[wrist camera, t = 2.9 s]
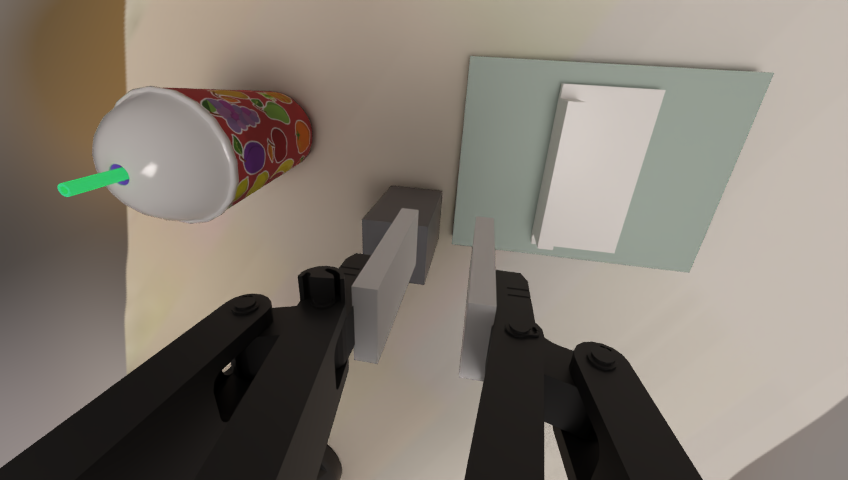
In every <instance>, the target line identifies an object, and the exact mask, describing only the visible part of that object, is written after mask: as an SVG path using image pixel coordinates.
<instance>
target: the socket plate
mask: <svg viewBox="0 0 848 480" xmlns="http://www.w3.org/2000/svg"><path fill="white" fill-rule="evenodd" d="M773 74H774V73H768V72H750V71H732V70H714V69H696V68H678V67H660V66H642V65H624V64H606V63H588V62H570V61H552V60H534V59H516V58H498V57H480V56H470V64H469V74H468V85H467V95H466V105H465V115H464V125H463V136H462V146H461V156H460V166H459V177H458V187H457V197H456V207H455V218H454V228H453V238H452V244H455V245H463V246H471V247H472V246H473V238H474V230H475V222H476V216H478V217H487V218H494V238H495V249H496V250H505V251H513V252H521V253H530V254H538V255H546V256H554V257H563V258H571V259H579V260H588V261H596V262H604V263H613V264H621V265H629V266H638V267H646V268H654V269H663V270H671V271H679V272H688V273H689V272H690V270H691V267H692V265H693V263H694V260H695V258H696V256H697V253H698V251H699V249H700V246H701V244H702V242H703V239H704V237H705V234H706V232H707V230H708V227H709V225H710V223H711V220H712V218H713V216H714V213H715V211H716V209H717V206H718V204H719V202H720V199H721V197H722V194H723V192H724V190H725V187H726V185H727V183H728V180H729V178H730V176H731V173H732V171H733V169H734V166H735V164H736V162H737V159H738V157H739V154H740V152H741V150H742V147H743V145H744V143H745V140H746V138H747V136H748V133H749V131H750V129H751V126H752V124H753V122H754V119H755V117H756V114H757V112H758V110H759V107H760V105H761V103H762V100H763V98H764V96H765V93H766V91H767V89H768V86H769V84H770V82H771V79H772V77H773ZM561 83H563V84H579V85H595V86H611V87H627V88H643V89H659V90H666V91H665V94H664V97H663V100H662V104H661V107H660V110H659V113H658V116H657V120H656V123H655V126H654V129H653V132H652V135H651V139H650V142H649V145H648V148H647V151H646V154H645V158H644V161H643V164H642V167H641V170H640V174H639V177H638V180H637V183H636V186H635V189H634V193H633V196H632V199H631V202H630V205H629V208H628V212H627V215H626V218H625V221H624V224H623V228H622V231H621V234H620V237H619V240H618V243H617V247H616V250H615V253H607V252H598V251H589V250H581V249H572V248H564V247H555V246H554V247H553V250H547V249H539V248H537V246H536V244H531V241H530V238H531V233H532V228H533V223H534V218H535V213H536V208H537V203H538V198H539V193H540V188H541V183H542V178H543V173H544V168H545V163H546V158H547V153H548V148H549V143H550V138H551V133H552V128H553V123H554V118H555V113H556V108H557V103H558V98H559V93H560V88H561Z"/></svg>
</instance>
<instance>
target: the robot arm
mask: <svg viewBox="0 0 848 480" xmlns="http://www.w3.org/2000/svg"><path fill="white" fill-rule="evenodd" d="M418 213H419V210H415V209H405V208H402V209H401V210H400V212H399V213H398V215H397V216H396V218H395V220H394V221H393V223H392V224H391V226H390V227H389V229H388V230H387V232H386V234H385V235H384V237H383V238H382V240H381V241H380V243H379V244H378V246H377V247H376V249H375V251H374V252H373V254H372V255H366V254H358V253H356V254H354V255H352V256H350V257H348V258H347V259H345V261H344V262H343V263H342V265H341V266H340V267H339V269H338V268H335V267H330V266H318V267H314V268H309V269H307V270H305V271H303V272H302V273H301V274H299V275H298V283H299V292H300V302H299V304H298V305H297V306H292V307H278V308H272V305H271V301H270V299H269V298H268V297H266V296H264V295H261V294H246V295H242V296H238V297H235V298H233V299H231V300H229V301H228V302H226V303H225V304H223V305H222V306H220V307H219V308H218V309H216V310H215V311H214V312H212V313H211V314H210V315H208V316H207V317H206V318H204V319H203V320H201V321H200V322H199V323H197V324H196V325H195V326H193V327H192V328H191V329H189V330H188V331H186V332H185V333H184V334H182V335H181V336H180V337H178V338H177V339H176V340H174V341H173V342H171V343H170V344H169V345H167V346H166V347H165V348H163V349H162V350H161V351H159V352H158V353H156V354H155V355H154V356H152V357H151V358H150V359H148V360H147V361H146V362H144V363H143V364H142V365H140V366H139V367H137V368H136V369H135V370H133V371H132V372H131V373H129V374H128V375H127V376H125V377H124V378H122V379H121V380H120V381H118V382H117V383H116V384H114V385H113V386H112V387H110V388H109V389H108V390H106V391H105V392H103V393H102V394H101V395H99V396H98V397H97V398H95V399H94V400H93V401H91V402H90V403H88V404H87V405H86V406H84V407H83V408H82V409H80V410H79V411H78V412H76V413H75V414H73V415H72V416H71V417H69V418H68V419H67V420H65V421H64V422H63V423H61V424H60V425H58V426H57V427H56V428H54V429H53V430H52V431H50V432H49V433H48V434H47V435H45V436H44V437H42V438H41V439H39V440H38V441H37V442H35V443H34V444H33V445H31V446H30V447H29V448H27V449H26V450H24V451H23V452H22V453H20V454H19V455H18V456H16V457H15V458H14V459H12V460H11V461H9V462H8V463H7V464H6V465H4V466H3V467H1V468H0V480H340V478H341V474H342V469H341V464H340V462H339V459H338V458H337V456H336V455H335V453H334V452H333V451H332V450H331V449H330V448H329V447H328V446H327V442H328V439H329V435H330V432H331V428H332V425H333V422H334V418H335V415H336V411H337V408H338V405H339V401H340V398H341V394H342V391H343V388H344V384H345V381H346V378H347V374H348V370H349V362H348V357H349V355H350V353H351V351H352V349H353V347H354V360H357V361H363V362H369V363H375V364H378V361H379V359H380V356H381V354H382V351H383V348H384V346H385V343H386V341H387V338H388V335H389V333H390V330H391V327H392V325H393V322H394V320H395V317H396V314H397V312H398V309H399V307H400V304H401V301H402V299H403V296H404V294H405V291H406V288H407V286H408V283H409V281H410V278H411V275H412V273H413V270H414V268H415V265H416V252H417V233H418ZM230 362H231V367H230V368H229V369H228V370H227V371H225V372H224V373H223V372H222V369H223V368H225V367H226V366H227V365H228V364H229V363H230ZM459 377H460V378H466V379H472V380H478V381H484V382H483V387H482V392H481V398H480V403H479V408H478V413H477V418H476V423H475V428H474V433H473V438H472V444H471V449H470V454H469V459H468V464H467V469H466V474H465V479H464V480H544V422H547V423H549V424H551V425H553V431H554V434H555V438H556V441H557V444H558V448H559V451H560V454H561V458H562V461H563V464H564V468H565V471H566V474H567V477H568V480H703V479H702V478H701V476H700V475H699V473H698V471H697V470H696V468H695V467H694V465H693V463H692V462H691V460H690V459H689V457H688V455H687V454H686V452H685V451H684V449H683V448H682V446H681V444H680V443H679V441H678V440H677V438H676V436H675V435H674V433H673V432H672V430H671V428H670V427H669V425H668V424H667V422H666V421H665V419H664V417H663V416H662V414H661V413H660V411H659V409H658V408H657V406H656V405H655V403H654V401H653V400H652V398H651V397H650V395H649V393H648V392H647V390H646V389H645V387H644V386H643V384H642V382H641V381H640V379H639V378H638V376H637V374H636V373H635V371H634V370H633V368H632V366H631V365H630V363H629V362H628V361H627V359H626V358H625V357H624V356H623V355H622V354H621V353H619V352H618V351H616V350H615V349H613V348H611V347H609V346H606V345H604V344H601V343H596V342H583V343H581V344H578V345H577V346H576V348H575V349H574V351H572V350H569V349H567V348H564V347H561V346H559V345H556V344H554V343H552V342H550V341H549V340H547V339H546V338H545V337H544V334H543V331H542V329H541V328H540V327H539V326H538V325H537V324H536V323H535V319H534V314H533V308H532V303H531V299H530V292H529V286H528V281H527V280H526V279H525V278H524V277H523V276H522V275H521V273H515V272H507V271H499V270H495V238H494V218H487V217H478V216H476V222H475V230H474V238H473V246H472V254H471V262H470V270H469V280H468V290H467V300H466V310H465V319H464V329H463V339H462V349H461V359H460V369H459Z"/></svg>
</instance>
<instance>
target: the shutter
mask: <svg viewBox="0 0 848 480" xmlns="http://www.w3.org/2000/svg"><path fill="white" fill-rule="evenodd" d="M665 91H666V90H659V89H643V88H627V87H611V86H595V85H579V84H563V83H561V88H560V93H559V98H558V103H557V108H556V113H555V118H554V123H553V128H552V133H551V138H550V143H549V148H548V153H547V158H546V163H545V168H544V173H543V178H542V183H541V188H540V193H539V198H538V203H537V208H536V213H535V218H534V223H533V228H532V233H531V238H530V241H531V244H536V246H537V248H539V249H547V250H553V247H554V246H555V247H564V248H572V249H581V250H589V251H598V252H607V253H615V250H616V247H617V243H618V240H619V237H620V234H621V231H622V228H623V224H624V221H625V218H626V215H627V212H628V208H629V205H630V202H631V199H632V196H633V193H634V189H635V186H636V183H637V180H638V177H639V174H640V170H641V167H642V164H643V161H644V158H645V154H646V151H647V148H648V145H649V142H650V139H651V135H652V132H653V129H654V126H655V123H656V120H657V116H658V113H659V110H660V107H661V104H662V100H663V97H664V94H665Z"/></svg>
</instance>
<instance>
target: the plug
mask: <svg viewBox="0 0 848 480" xmlns="http://www.w3.org/2000/svg"><path fill="white" fill-rule="evenodd" d="M441 202H442V191H439V190H429V189H419V188H410V187H400V186H391V187H390V188H389V189H388V190H387V191H386V192H385V194H384V195H383V196H382V197H381V198H380V199H379V200H378V202H377V203H376V204H375V205H374V206H373V207H372V209H371V210H370V211H369V212H368V213H367V214H366V215H365V217H364V218H363V219H362V235H363V254H366V255H372V254H373V252H374V251H375V249H376V247H377V246H378V244H379V243H380V241H381V240H382V238H383V237H384V235H385V234H386V232H387V230H388V229H389V227H390V226H391V224H392V223H393V221H394V220H395V218H396V216H397V215H398V213H399V212H400V210H401V209H402V208H405V209H415V210H419V213H418V233H417V252H416V265H415V268H414V270H413V273H412V275H411V278H410V281H409V283H414V284H421V285H424V284H425V281H426V278H427V274H428V271H429V268H430V265H431V261H432V258H433V255H434V252H435V248H436V245H437V242H438V239H439V227H440V215H441Z"/></svg>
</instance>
